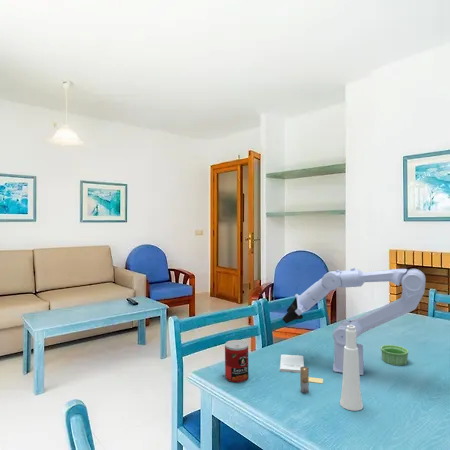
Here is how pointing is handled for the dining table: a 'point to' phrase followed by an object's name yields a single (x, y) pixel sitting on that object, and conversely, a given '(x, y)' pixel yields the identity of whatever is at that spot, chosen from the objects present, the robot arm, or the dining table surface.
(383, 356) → the ramekin
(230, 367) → the canned food
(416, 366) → the dining table surface
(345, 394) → the cosmetic bottle
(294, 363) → the external hard drive
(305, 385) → the photo-textured cylinder
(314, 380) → the plate
